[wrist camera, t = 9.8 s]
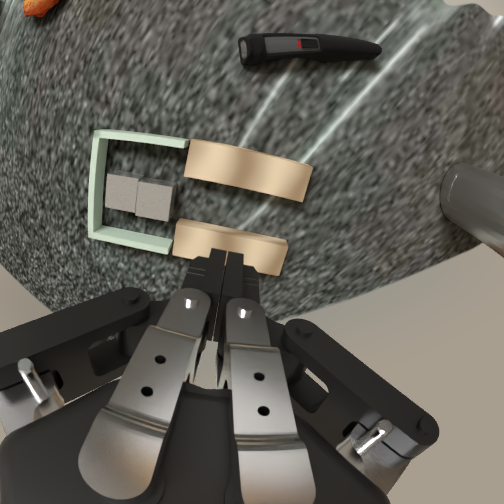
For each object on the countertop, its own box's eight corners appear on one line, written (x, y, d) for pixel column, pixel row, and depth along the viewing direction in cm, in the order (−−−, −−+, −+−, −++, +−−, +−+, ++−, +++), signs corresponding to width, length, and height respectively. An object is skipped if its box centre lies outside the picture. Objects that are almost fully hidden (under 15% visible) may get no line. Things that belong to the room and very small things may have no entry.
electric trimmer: (372, 68, 24) (385, 64, 22) (241, 67, 25) (241, 61, 22) (368, 41, 23) (380, 35, 20) (237, 38, 23) (237, 29, 20)
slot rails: (308, 164, 29) (312, 167, 28) (276, 268, 35) (278, 276, 33) (194, 138, 28) (191, 139, 26) (175, 247, 33) (172, 254, 32)
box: (189, 139, 28) (185, 140, 25) (172, 245, 33) (167, 254, 31) (104, 129, 26) (94, 130, 24) (96, 229, 32) (88, 237, 30)
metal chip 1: (145, 174, 29) (138, 178, 27) (142, 206, 31) (134, 212, 29) (116, 169, 29) (107, 173, 27) (113, 200, 31) (104, 207, 28)
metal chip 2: (177, 182, 30) (172, 187, 28) (173, 214, 32) (168, 221, 30) (145, 176, 30) (138, 181, 27) (142, 208, 31) (135, 215, 29)
